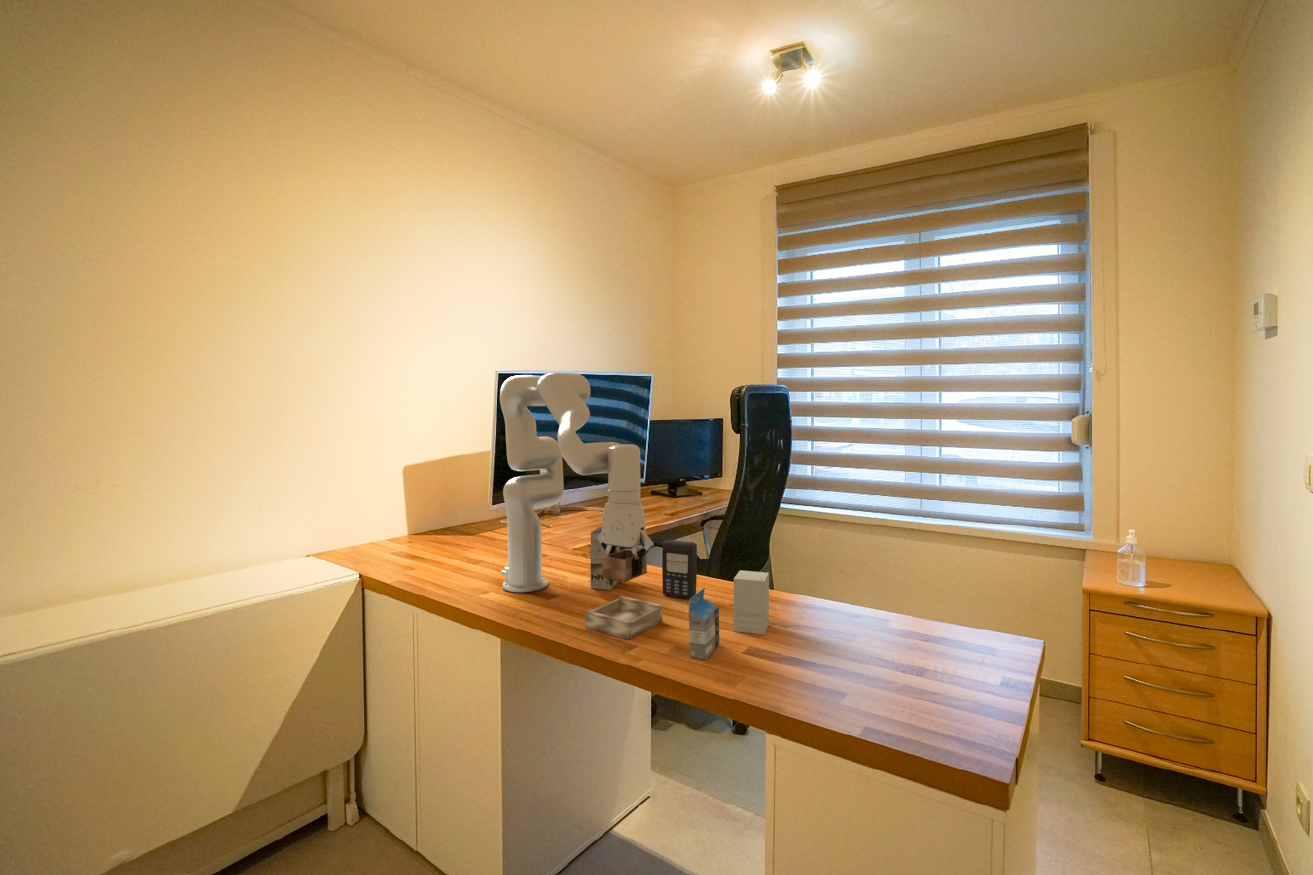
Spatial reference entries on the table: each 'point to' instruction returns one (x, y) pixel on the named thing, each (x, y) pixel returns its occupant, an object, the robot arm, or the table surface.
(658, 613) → the tray
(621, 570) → the small crate
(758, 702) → the table surface
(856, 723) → the table surface
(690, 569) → the card reader
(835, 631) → the table surface
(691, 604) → the label tape box
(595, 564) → the coffee box
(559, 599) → the table surface
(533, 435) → the robot arm
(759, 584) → the supplement box
